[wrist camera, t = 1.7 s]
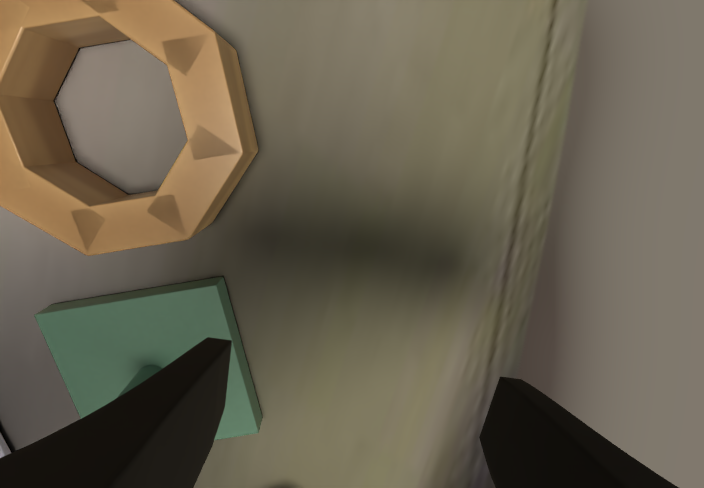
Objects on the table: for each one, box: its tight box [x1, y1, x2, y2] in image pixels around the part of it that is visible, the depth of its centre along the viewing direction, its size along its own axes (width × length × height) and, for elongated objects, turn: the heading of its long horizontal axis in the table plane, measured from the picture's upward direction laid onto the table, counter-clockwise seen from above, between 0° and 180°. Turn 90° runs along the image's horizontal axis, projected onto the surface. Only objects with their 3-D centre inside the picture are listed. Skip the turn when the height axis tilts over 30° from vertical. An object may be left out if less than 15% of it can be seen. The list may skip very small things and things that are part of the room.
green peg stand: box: [34, 277, 262, 440], centre depth 17 cm, size 9×9×7 cm
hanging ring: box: [0, 0, 258, 256], centre depth 15 cm, size 10×10×3 cm
